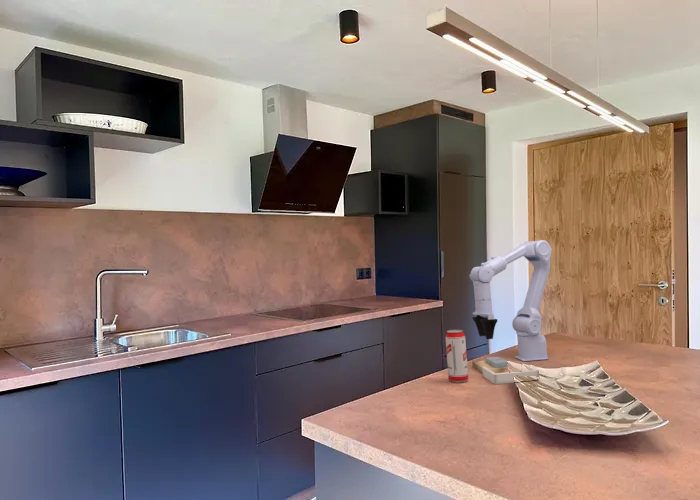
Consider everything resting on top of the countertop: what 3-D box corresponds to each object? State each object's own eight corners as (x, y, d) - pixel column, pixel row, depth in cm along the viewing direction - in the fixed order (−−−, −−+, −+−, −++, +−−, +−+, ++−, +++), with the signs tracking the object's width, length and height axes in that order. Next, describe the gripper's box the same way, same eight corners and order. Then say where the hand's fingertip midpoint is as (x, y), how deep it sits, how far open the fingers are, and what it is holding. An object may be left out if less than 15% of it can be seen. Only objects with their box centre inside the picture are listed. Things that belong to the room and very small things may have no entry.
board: (505, 364, 175) (505, 358, 175) (521, 372, 161) (521, 366, 161) (472, 367, 174) (472, 361, 174) (486, 376, 160) (485, 369, 160)
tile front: (503, 364, 166) (503, 359, 167) (508, 366, 162) (508, 362, 162) (490, 365, 166) (490, 360, 166) (495, 368, 162) (495, 363, 162)
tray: (524, 372, 161) (523, 363, 161) (539, 380, 150) (538, 370, 150) (483, 376, 160) (482, 367, 160) (495, 384, 149) (494, 374, 149)
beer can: (467, 378, 159) (463, 328, 160) (470, 382, 153) (466, 331, 154) (447, 379, 160) (444, 330, 160) (449, 383, 154) (445, 333, 154)
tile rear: (498, 361, 171) (497, 356, 172) (503, 363, 167) (502, 359, 167) (485, 362, 171) (485, 357, 171) (490, 365, 167) (489, 360, 167)
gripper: (466, 299, 183) (468, 335, 183) (478, 302, 169) (481, 341, 168) (484, 297, 184) (487, 333, 183) (498, 300, 169) (501, 339, 169)
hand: (486, 337), depth 176 cm, fingers open, 7 cm apart
